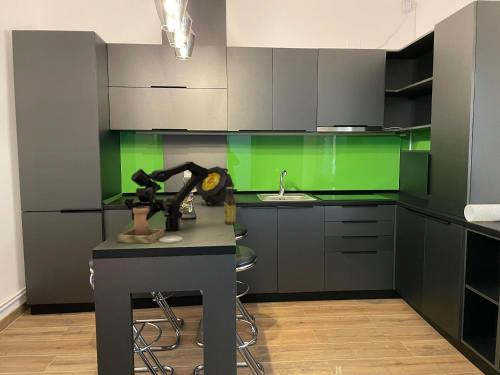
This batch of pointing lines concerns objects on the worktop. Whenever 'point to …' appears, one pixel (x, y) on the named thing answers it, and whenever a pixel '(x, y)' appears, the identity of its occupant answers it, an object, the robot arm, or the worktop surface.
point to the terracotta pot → (141, 220)
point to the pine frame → (132, 238)
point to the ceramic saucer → (170, 239)
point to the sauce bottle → (229, 207)
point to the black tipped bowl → (215, 186)
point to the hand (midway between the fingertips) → (139, 219)
